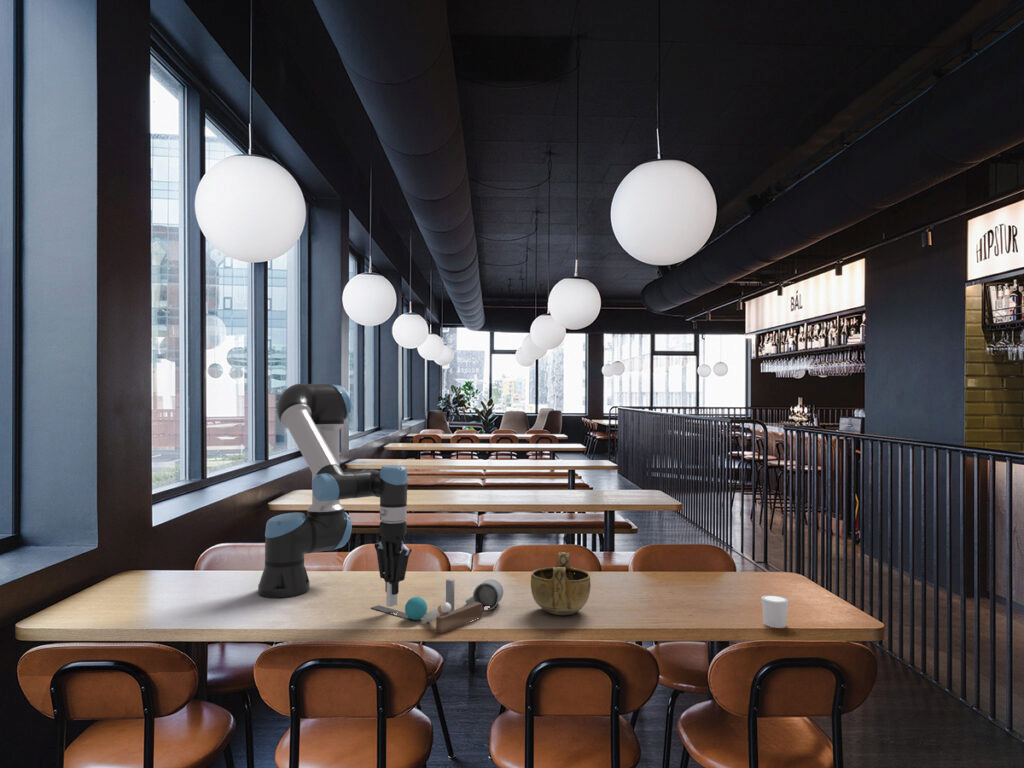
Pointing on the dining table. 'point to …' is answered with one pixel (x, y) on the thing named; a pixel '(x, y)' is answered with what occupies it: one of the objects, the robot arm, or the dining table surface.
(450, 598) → the grey pin
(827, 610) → the dining table surface
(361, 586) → the dining table surface
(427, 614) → the white pin
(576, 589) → the ceramic bowl
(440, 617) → the backstop
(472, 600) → the ceramic mug
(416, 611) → the ball
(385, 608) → the grey flat bar
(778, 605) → the white cup
